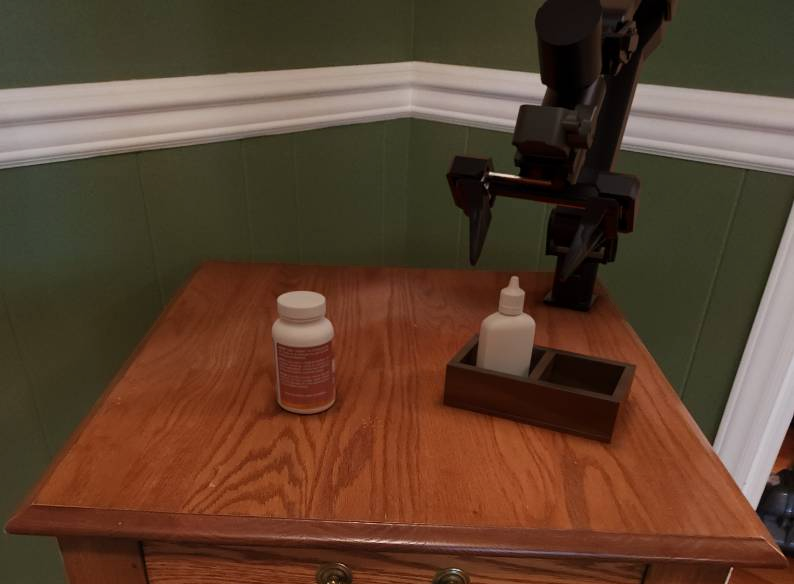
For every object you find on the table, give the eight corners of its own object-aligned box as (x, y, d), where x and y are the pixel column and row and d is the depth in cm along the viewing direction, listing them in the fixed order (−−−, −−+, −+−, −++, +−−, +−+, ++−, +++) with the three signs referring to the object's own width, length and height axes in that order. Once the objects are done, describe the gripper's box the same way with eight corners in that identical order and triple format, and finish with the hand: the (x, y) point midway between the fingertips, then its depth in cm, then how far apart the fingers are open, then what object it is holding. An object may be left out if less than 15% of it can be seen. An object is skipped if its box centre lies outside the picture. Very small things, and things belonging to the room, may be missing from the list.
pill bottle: (346, 407, 76) (345, 303, 70) (294, 421, 74) (287, 315, 67) (317, 384, 80) (314, 283, 74) (267, 397, 78) (258, 294, 71)
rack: (471, 370, 84) (476, 332, 82) (626, 404, 79) (637, 364, 76) (442, 404, 78) (446, 364, 75) (609, 444, 72) (620, 402, 69)
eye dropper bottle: (475, 376, 81) (488, 267, 74) (526, 382, 80) (544, 273, 73) (472, 394, 78) (484, 282, 70) (524, 400, 77) (543, 287, 70)
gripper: (461, 56, 68) (408, 210, 67) (666, 73, 62) (612, 241, 61) (480, 138, 78) (434, 271, 77) (657, 158, 72) (610, 303, 71)
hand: (515, 271), depth 71 cm, fingers open, 9 cm apart
